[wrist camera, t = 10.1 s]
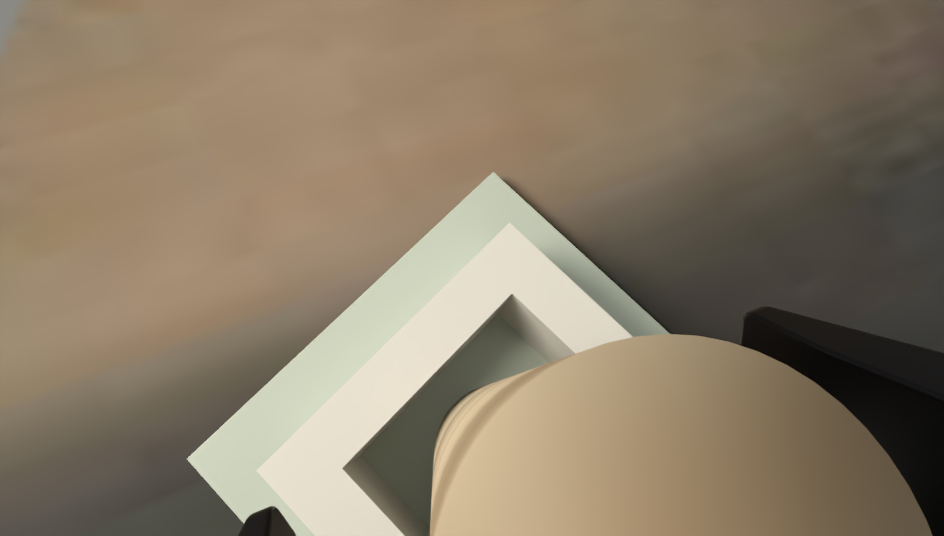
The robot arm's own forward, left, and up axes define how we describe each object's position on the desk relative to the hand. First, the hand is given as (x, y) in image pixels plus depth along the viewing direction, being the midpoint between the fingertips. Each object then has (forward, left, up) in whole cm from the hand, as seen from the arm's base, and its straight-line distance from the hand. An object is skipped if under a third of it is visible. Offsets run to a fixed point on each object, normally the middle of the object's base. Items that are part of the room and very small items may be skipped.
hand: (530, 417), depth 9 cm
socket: (-1, +1, -9) cm, 9 cm away
